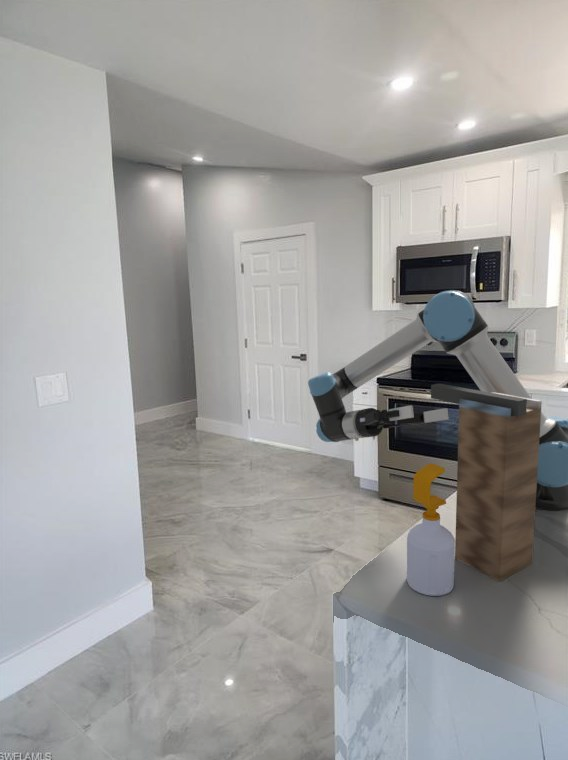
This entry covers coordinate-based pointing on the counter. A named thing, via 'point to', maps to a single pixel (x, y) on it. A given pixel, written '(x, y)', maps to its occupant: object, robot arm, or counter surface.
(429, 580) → the soap bottle
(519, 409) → the bar
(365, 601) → the counter surface
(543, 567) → the counter surface
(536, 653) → the counter surface
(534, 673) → the counter surface
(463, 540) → the wooden block tower
